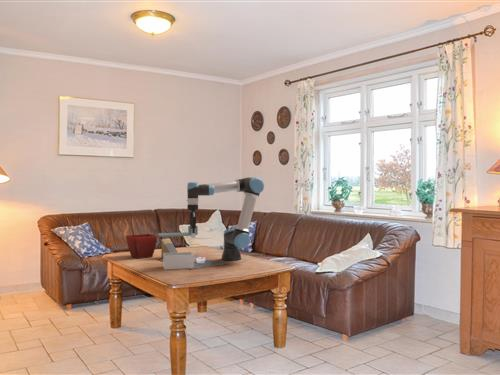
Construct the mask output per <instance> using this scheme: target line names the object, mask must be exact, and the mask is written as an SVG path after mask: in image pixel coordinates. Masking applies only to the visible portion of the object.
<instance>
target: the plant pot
mask: <svg viewBox="0 0 500 375" xmlns="http://www.w3.org/2000/svg"><path fill="white" fill-rule="evenodd" d="M125 238H126V243H127V247H128V250H129V254H130V256H131V257H133V258H135V259H144V258H152V257H153V256H154V254H155V249H156V247H157V242H158V235H156V234H151V233H143V234H140V233H139V234H130V235H126V236H125Z"/></svg>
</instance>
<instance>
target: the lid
mask: <svg viewBox="0 0 500 375" xmlns="http://www.w3.org/2000/svg"><path fill="white" fill-rule="evenodd" d="M191 228H192V226H190V225H187V231H186V232H158V233H157V236H158V237H159V238H165V237H166V238H167V237H190V235H191ZM198 230H199V229H198V225H196V228H195V236H198V233H199V232H198Z"/></svg>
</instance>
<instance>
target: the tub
mask: <svg viewBox="0 0 500 375" xmlns="http://www.w3.org/2000/svg"><path fill="white" fill-rule="evenodd" d="M162 263H163V264H162V265H163V269H164V270H165V271H166V270H181V269H195V255H194V252H192V251H180V252H178V251H177V252H176V253H163V258H162Z"/></svg>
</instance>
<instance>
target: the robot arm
mask: <svg viewBox="0 0 500 375" xmlns="http://www.w3.org/2000/svg"><path fill="white" fill-rule="evenodd" d="M186 189H187V192H186V193H187V199H186V201H187V210H188V211H190V212H189V226H192V228H191V235H190V236H189V237H190V238H191V239H195V238H196V235H195V228H196V226H197V212H196V210H199V197H200V196H202V197H203V196H204V197H205V196H207V197H208V196H209V197H210V196H213V195H214V194H220V193H228V192H229V193H230V192H236V193H239V192H240V193H241V192H242V193H243V194H244V199H243V203H242V208H241V210H240V215H239V219H238V223H237V226H235V227H234V228H232V229H230V228H229V229H224V231H223V252H222V255H221V260H223V261H240V260H242V254H241V250H240V249H245V248H247V247H249V245H250V243H251V237H250V230H249V229H250V225H251V221H252V217H253V213H254V209H255V204H256V201H257V199H258V198H259V197H260V193H262V192H264V189H265V184H264V182H263V179H261V178H260V177H257V176H254V177H249V176H248V177H244V178H239V179H235V180H233V181H223V182H222V181H221V182H213V183H203V184H199V182H193V181H191V182H188V183H187V187H186Z"/></svg>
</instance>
